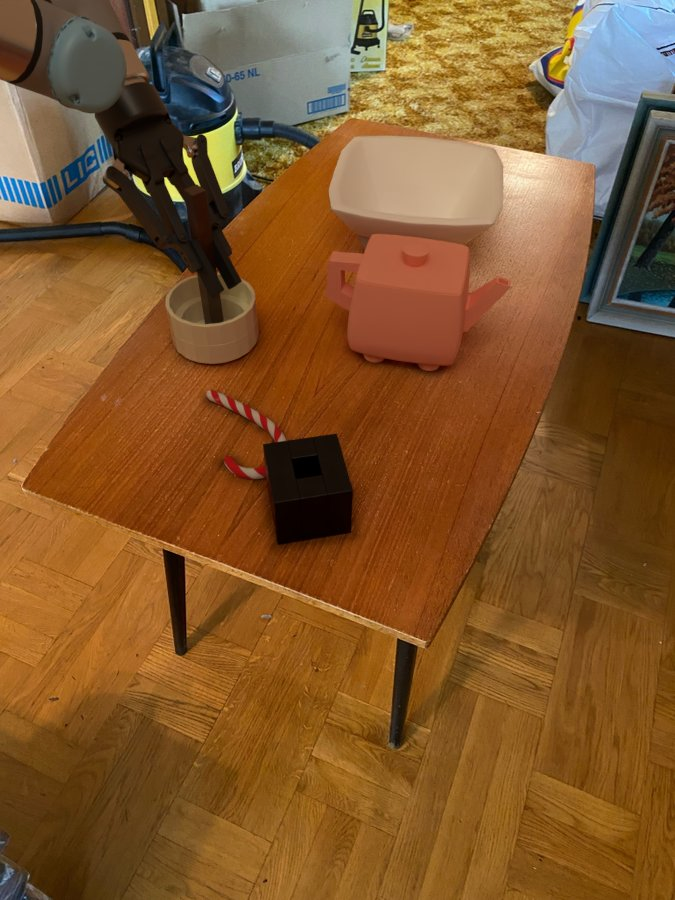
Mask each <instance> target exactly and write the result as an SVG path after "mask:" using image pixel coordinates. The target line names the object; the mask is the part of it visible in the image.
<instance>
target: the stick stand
mask: <svg viewBox="0 0 675 900" xmlns="http://www.w3.org/2000/svg"><path fill="white" fill-rule="evenodd" d="M262 450H263V451H262V452H263V459H264V465H265V471H266V477H265V480H266V481H265V482H266V489H267V494H268V495H267V496H268V500H269V505H270V506H269V507H270V511H271V516H272V521H273V527H274V531H275V533H274V534H275V538H276V543H277V545H278V546H280V545H286V544H292V543H299V542H303V541H310V540H316V539H322V538H327V537H334V536H339V535H346V534H347V535H348V534H352V524H353V523H352V521H353V501H354V499H353V497H354V488H353V485H352V482H351V478H350V474H349V471H348V467H347V464H346V461H345V457H344V454H343V450H342V447H341V444H340V440H339V435H338V433H329V434H322V435H317V436H316V435H315V436H310V437H309V436H308V437H302V438H295V439H289V440H288V439H287V440H286V441H281V442H275V441H274V442H269V443H268V442H267V443H263V444H262Z"/></svg>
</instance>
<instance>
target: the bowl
mask: <svg viewBox="0 0 675 900" xmlns="http://www.w3.org/2000/svg"><path fill="white" fill-rule="evenodd" d="M328 196H329V198H328V199H329V205H330V210H331V212H332V213H333V214H334V215H335V216H337V217H338V219H340V220H341V221H342V222H343V223H344V224H345V225H346V226H347V227H348V228H349V229H350V230H351V231H352V232H353V233H354V234H355V235H357V236H358V238H359V241H360V245H361V246H362V249H363V250H364V252H365V249H366V246H367V244H368V241H369V239H370V237H371V236H372V235H373V234H389V235H400V236H409V237H418V238H426V239H432V240H439V241H445V242H451V243H456V244H461V245H465V246H466V245H467V244H468V243H469V242H471V241H473V240H474V239H476V238H477V237H478V236H480V235H482V234H483V233H485V232H486V231H488V230H489V229H490V228H492V227H493V226H495V224H496V221H497V219H498V217H499V216H500V213H501V212H502V210H503V208H504V163H503V162H502V159H501V158H500V155H499V154H498V152H497V149H495V148H494V147H490V146H485V145H481V144H476V143H470V142H466V141H458V140H450V139H443V138H436V137H429V136H428V137H426V136H408V135H407V136H406V135H384V134H383V135H357V136H354V137H353V138H352V139H351V140H350V141H349V142H348V143H347V144H346V145H345V146H344V147H343V148H342V150H341V151H340V154H339V156H338V159H337V163H336V165H335V167H334V171H333V174H332V177H331V181H330V184H329V187H328Z"/></svg>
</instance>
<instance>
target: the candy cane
mask: <svg viewBox="0 0 675 900" xmlns="http://www.w3.org/2000/svg"><path fill="white" fill-rule="evenodd" d="M205 398H206V399H207V400H209V401H210V402H212V403H215V404H217V405H220V406H221V407H224V408H226V409H229V410H230V411H232V412H234V413H235V414H238V415H240V416H242V417H244V418H245V419H247V420H249V421H250V422H252V423H254V424H256V425H257V426H259V427H260V428H261V429H262V430H264V432H266V433H267V434H268V435H270V436H271V438H272V439H273V440H274V442H281V441H287V438H286V436H285V435H284V433H283V431H282V430H281V429H280V428H279V427H278V426H277V425H276V423H274V422H273V421H272V420H271V419H270V418H268V417H267V416H265V415H263V414H262V413H261V412H259V411H257V410H256V409H254V408H252V407H250V406H248V405H246V404H244V403H242V402H241V401H239V400H236V399H235V398H232V397H230V396H228V395H226V394H224V393H220V392H219V391H216V390H213V389H208V390H207V391H206V393H205ZM223 463H224V466H225V468H227V470H228V471H229V472H230V473H231V474H232V475H235V476H236V477H239V478H240V479H241V478H242V479H245V480H246V479H247V480H260V479H261V480H262V479H266V471H265V464H264V465H261V466H259V467H245V466H241V465H240V464H239V463H237V462H236V460H235V459H234V457H233V456H231V455H227V456H225V457H224V459H223Z"/></svg>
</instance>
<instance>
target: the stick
mask: <svg viewBox="0 0 675 900" xmlns="http://www.w3.org/2000/svg"><path fill="white" fill-rule="evenodd" d="M195 184H196V183H195ZM184 197H185V202H184V203H185V208H186V215H187V220H188V227H189V233H190V240H192V239H195V238H197V240H198V242H199V244H200V245H201V247H202V249H203V251H204V253H205V255H206V256H207V258H208V260H209V262H210V264H211V266H212V268H213V269H214V271H215V273H216V275H217V273H218V269H217V267H216V261H215V253H214V246H213V238H212V231H211V224H210V216H209V209H208V202H207V194H206V190H205V189H203V188H202V187H200V184H199V185H198V184H196V185H194V186H191V187H189V188H186V189H184ZM196 275H197V277H198V283H199V289H200V296H201V302H202V308H203V314H204V320H205V324H214V323H221V322H224V319H223V312H222V304H221V297H220V294H218V295H217V296H215V297H213V298H211V296H210V294H209V293H208V291H207V289H206V287H205V285H204V284H203V282H202V280H201V278H200V276H199V274H198V273H197V272H196ZM217 277H218V275H217Z"/></svg>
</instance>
